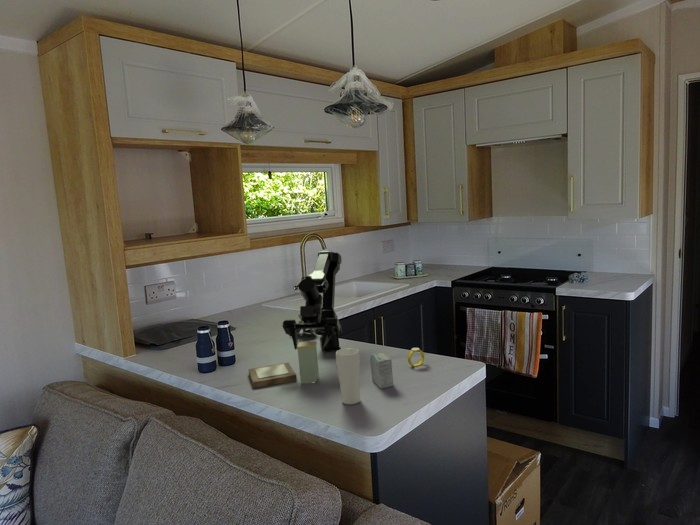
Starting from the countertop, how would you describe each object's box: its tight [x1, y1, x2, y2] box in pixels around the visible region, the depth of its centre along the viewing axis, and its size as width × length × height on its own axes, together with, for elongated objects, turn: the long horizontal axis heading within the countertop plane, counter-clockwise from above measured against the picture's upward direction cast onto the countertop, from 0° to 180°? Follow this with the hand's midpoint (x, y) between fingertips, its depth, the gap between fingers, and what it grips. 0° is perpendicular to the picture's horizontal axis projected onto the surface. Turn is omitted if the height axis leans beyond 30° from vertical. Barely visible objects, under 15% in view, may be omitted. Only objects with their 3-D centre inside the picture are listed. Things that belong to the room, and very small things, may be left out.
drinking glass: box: [335, 347, 361, 405], centre depth 152 cm, size 7×7×15 cm
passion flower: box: [297, 313, 317, 336], centre depth 226 cm, size 11×11×12 cm
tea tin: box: [296, 340, 320, 384], centre depth 172 cm, size 5×5×12 cm
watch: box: [407, 347, 426, 368], centre depth 179 cm, size 6×3×6 cm, turn 118°
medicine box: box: [369, 352, 394, 389], centre depth 164 cm, size 8×4×9 cm, turn 17°
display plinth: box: [248, 362, 298, 389], centre depth 178 cm, size 14×14×2 cm
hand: (309, 348), depth 174 cm, fingers open, 9 cm apart
